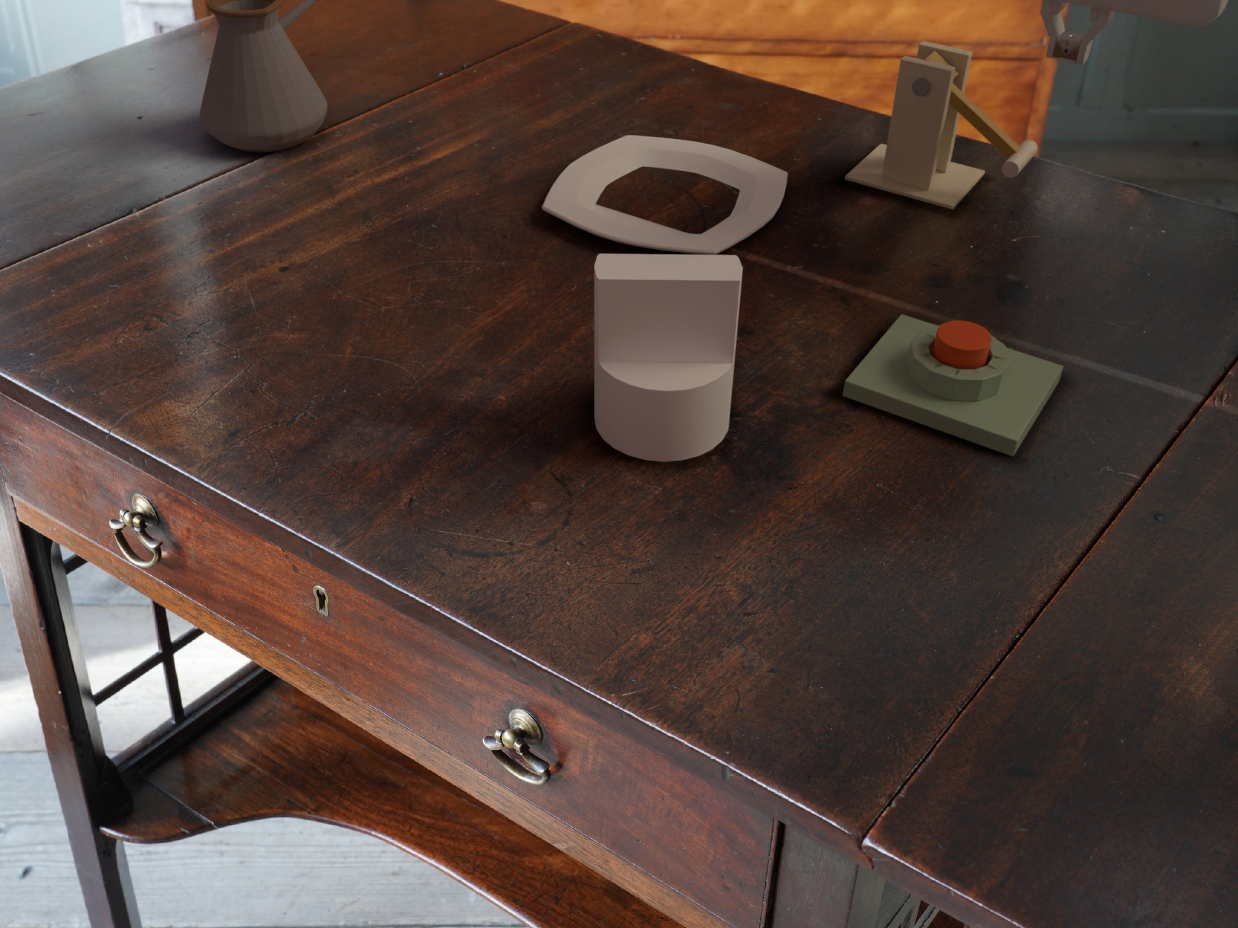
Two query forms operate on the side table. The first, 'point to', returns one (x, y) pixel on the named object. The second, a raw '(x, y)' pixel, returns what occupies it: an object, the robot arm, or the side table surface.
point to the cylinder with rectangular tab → (664, 351)
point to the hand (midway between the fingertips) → (1066, 58)
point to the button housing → (954, 387)
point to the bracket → (922, 133)
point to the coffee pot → (259, 79)
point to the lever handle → (989, 128)
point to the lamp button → (962, 345)
